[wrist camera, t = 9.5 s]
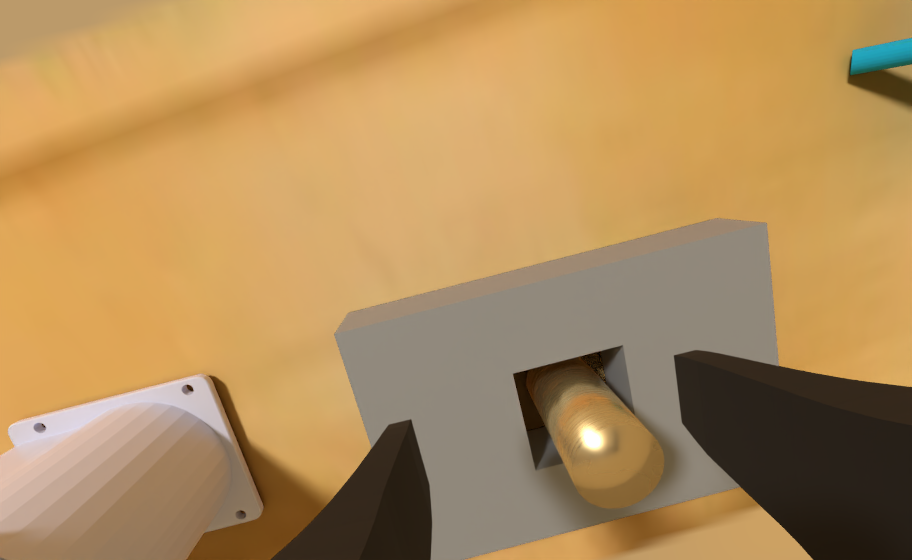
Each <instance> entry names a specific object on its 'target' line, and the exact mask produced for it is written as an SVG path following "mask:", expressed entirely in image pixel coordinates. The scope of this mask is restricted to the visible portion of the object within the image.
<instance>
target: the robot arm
mask: <svg viewBox="0 0 912 560" xmlns="http://www.w3.org/2000/svg"><path fill="white" fill-rule="evenodd" d="M674 362H675V371H676V379H677V387H678V395H679V403H680V412H681V420H682V424H683V425H684V426H685V428H686V429H687V430H688V431H689V433H690V434H691V435H692V437H693V438H694V439H695V440H696V442H697V443H698V444H699V445H700V446H701V448H702V449H703V450H704V451H705V452H706V454H707V455H708V456H709V457H710V458H711V459H712V460H713V461H714V462H715V463H716V464H717V465H718V466H719V467H720V468H721V469H723V470H724V471H725V472H726V473H727V474H728V475H729V476H730V477H731V478H732V479H733V480H734V481H735V482H736V483H737V484H738V485H739V486H740V487H741V488H742V489H743V490H744V491H745V492H747V493H748V494H749V495H750V496H751V497H752V498H753V499H754V500H755V501H756V502H757V503H758V504H759V505H760V506H761V507H762V508H763V509H764V510H765V511H766V512H768V513H769V514H770V515H771V516H772V517H773V518H774V519H775V520H776V521H777V522H778V523H779V524H780V525H781V526H782V527H783V528H784V529H785V530H786V531H787V532H788V533H789V534H790V535H791V536H792V537H793V538H794V539H795V540H796V541H797V542H798V543H799V544H800V545H801V546H802V547H803V549H804V550H805V551H806V552H807V553H808V554H809V555H810V556H811V558H812V559H813V560H912V387H905V386H897V385H889V384H881V383H873V382H865V381H858V380H851V379H845V378H839V377H833V376H827V375H822V374H816V373H811V372H805V371H800V370H795V369H790V368H785V367H781V366H776V365H771V364H767V363H762V362H758V361H753V360H748V359H744V358H739V357H735V356H730V355H725V354H720V353H715V352H709V351H701V350H694V351H689V352H685V353H681V354H677V355H674ZM187 385H190V386H192V387H193V390H194V391H190V390H188V388H187ZM42 424H44V425H45V427H46V428H45V427H43V425H42ZM8 434H9V437H10V439H11V441H12V442H13V444H14V446H15V447H14V448H12V449H10V450H9V451H7V452H5V453H4V454H2V455H1V456H0V560H186V559H187V558H188V556H189V555H190V553H191V552H192V550H193V549H194V547H195V546H196V544H197V543H198V541H199V540H200V538H201V537H202V535H203V534H204V533H206V532H210V531H214V530H218V529H221V528H225V527H229V526H233V525H237V524H241V523H244V522H248V521H252V520H255V519H257V518H259V517H260V515H261V513H262V511H263V503H262V501H261V499H260V496H259V494H258V491H257V489H256V486H255V484H254V481H253V479H252V477H251V474H250V472H249V469H248V467H247V464H246V462H245V459H244V457H243V455H242V452H241V450H240V447H239V445H238V442H237V440H236V437H235V435H234V433H233V430H232V428H231V425H230V423H229V420H228V418H227V415H226V413H225V411H224V408H223V406H222V403H221V401H220V398H219V396H218V393H217V391H216V388H215V386H214V384H213V381H212V380H211V378H210V377H209V376H207V375H204V374H197V375H193V376H189V377H186V378H182V379H178V380H174V381H170V382H166V383H162V384H158V385H154V386H151V387H147V388H143V389H139V390H135V391H131V392H127V393H123V394H120V395H116V396H112V397H108V398H104V399H100V400H96V401H92V402H88V403H85V404H81V405H77V406H73V407H69V408H65V409H61V410H57V411H53V412H50V413H46V414H42V415H38V416H34V417H30V418H26V419H22V420H20V421H17V422H16V423H14V424H12V425H11V426H10V427H9V428H8ZM239 510H242V511H244V512H245V513H241V512H240V511H239ZM431 543H432V510H431V497H430V485H429V481H428V478H427V474H426V470H425V467H424V463H423V460H422V456H421V453H420V449H419V445H418V442H417V438H416V435H415V431H414V427H413V424H412V420H411V419H410V420H406V421H401V422H397V423H393V424H389V425H388V426H387V428H386V429H385V430H384V432H383V433H382V434H381V436H380V437H379V439H378V440H377V442H376V443H375V444H374V446H373V447H372V449H371V450H370V452H369V453H368V454H367V456H366V457H365V458H364V460H363V461H362V463H361V464H360V465H359V467H358V468H357V469H356V471H355V472H354V473H353V474H352V476H351V477H350V478H349V479H348V481H347V482H346V483H345V484H344V485H343V487H342V488H341V489H340V490H339V492H338V493H337V494H336V495H335V496H334V498H333V499H332V500H331V501H330V502H329V503H328V505H327V506H326V507H325V508H324V509H323V510H322V511H321V512H320V513H319V514H318V516H317V517H316V518H315V519H314V520H313V521H312V522H311V523H310V524H309V525H308V526H307V527H306V528H305V529H304V530H303V531H302V532H301V533H300V534H299V535H298V536H297V537H295V538H294V539H293V540H292V541H291V542H290V543H289V544H288V545H287V546H285V547H284V548H283V549H282V550H281V551H280V552H279V553H277V554H276V555H275V556H274V557H273V558H272V559H271V560H431Z"/></svg>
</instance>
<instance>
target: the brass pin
mask: <svg viewBox="0 0 912 560" xmlns="http://www.w3.org/2000/svg"><path fill="white" fill-rule="evenodd" d="M526 386H527V389H528V392H529V394H530V396H531V398H532V400H533V402H534V404H535V406H536V408H537V410H538V412H539V414H540V416H541V418H542V420H543V422H544V424H545V426H546V428H547V430H548V432H549V434H550V436H551V438H552V440H553V442H554V445H555V447H556V449H557V451H558V453H559V455H560V457H561V459H562V461H563V463H564V465H565V467H566V469H567V471H568V473H569V475H570V477H571V479H572V481H573V483H574V485H575V487H576V489H577V491H578V492H579V494H580V495H581V496H582V497H583V498H584V499H585V500H586V501H588V502H589V503H591V504H593V505H595V506H598V507H602V508H607V509H617V508H624V507H628V506H631V505H633V504H635V503H638V502H639V501H641V500H643V499H644V498H645V497H647V496H648V495H649V494H650V493H651V492H652V491H653V490H654V488H655V487H656V486H657V484H658V483H659V481H660V479H661V476H662V473H663V469H664V454H663V450H662V448H661V446H660V444H659V442H658V441H657V440H656V438H655V437H654V436H653V435H652V434H651V433H650V432H649V431H648V430H647V429H646V427H645V426H644V425H643V424H642V423H641V422H640V421H639V420H638V419H637V418H636V416H635V415H634V414H633V413H632V412H631V411H630V410H629V409H628V408H627V407H626V406H625V404H624V403H623V402H622V401H621V400H620V399H619V398H618V397H617V396H616V395H615V394H614V392H613V391H612V390H611V389H610V388H609V387H608V386H607V385H606V384H605V383H604V382H603V380H602V379H601V378H600V377H599V376H598V375H597V374H596V373H595V372H594V371H593V370H592V368H591V367H590V366H589V365H588V364H587V363H586V362H585V361H584V360H583V359H582V358H581V357H580V356H579V357H575V358H571V359H567V360H563V361H560V362H556V363H552V364H548V365H544V366H540V367H536V368H533V369H529V370H528V371H527V375H526Z"/></svg>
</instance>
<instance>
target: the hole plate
mask: <svg viewBox="0 0 912 560" xmlns="http://www.w3.org/2000/svg"><path fill="white" fill-rule="evenodd" d="M334 335H335V338H336V341H337V344H338V347H339V350H340V353H341V356H342V359H343V362H344V366H345V369H346V372H347V375H348V378H349V381H350V384H351V387H352V390H353V393H354V396H355V399H356V402H357V405H358V408H359V411H360V414H361V417H362V420H363V423H364V426H365V429H366V432H367V435H368V438H369V441H370V444H371V447H373V446H374V444H375V443H376V442H377V440H378V439H379V437H380V436H381V434H382V433H383V432H384V430H385V429H386V428H387V426H388V425H389V424H393V423H397V422H401V421H406V420H410V419H411V420H412V424H413V427H414V431H415V435H416V438H417V442H418V445H419V449H420V453H421V456H422V460H423V463H424V467H425V470H426V474H427V478H428V481H429V485H430V497H431V510H432V543H431V560H464V559H468V558H472V557H475V556H479V555H483V554H487V553H491V552H495V551H498V550H502V549H506V548H510V547H514V546H517V545H521V544H525V543H529V542H533V541H536V540H540V539H544V538H548V537H552V536H555V535H559V534H563V533H567V532H571V531H575V530H578V529H582V528H586V527H590V526H594V525H597V524H601V523H605V522H609V521H613V520H616V519H620V518H624V517H628V516H632V515H635V514H639V513H643V512H647V511H651V510H655V509H658V508H662V507H666V506H670V505H674V504H677V503H681V502H685V501H689V500H693V499H696V498H700V497H704V496H708V495H712V494H715V493H719V492H723V491H727V490H731V489H735V488H738V487H740V486H739V485H738V484H737V483H736V482H735V481H734V480H733V479H732V478H731V477H730V476H729V475H728V474H727V473H726V472H725V471H724V470H723V469H721V468H720V467H719V466H718V465H717V464H716V463H715V462H714V461H713V460H712V459H711V458H710V457H709V456H708V455H707V454H706V452H705V451H704V450H703V449H702V448H701V446H700V445H699V444H698V443H697V442H696V440H695V439H694V438H693V437H692V435H691V434H690V433H689V431H688V430H687V429H686V428H685V426H684V425H683V424H682V420H681V412H680V403H679V395H678V387H677V379H676V371H675V362H674V355H677V354H681V353H685V352H689V351H694V350H701V351H709V352H715V353H720V354H725V355H730V356H735V357H739V358H744V359H748V360H753V361H758V362H762V363H767V364H771V365H776V366H779V362H778V350H777V338H776V326H775V314H774V303H773V291H772V279H771V267H770V255H769V243H768V231H767V223H763V222H752V221H741V220H730V219H719V218H716V219H712V220H709V221H705V222H701V223H697V224H693V225H689V226H685V227H681V228H677V229H673V230H670V231H666V232H662V233H658V234H654V235H650V236H646V237H642V238H638V239H635V240H631V241H627V242H623V243H619V244H615V245H611V246H607V247H603V248H599V249H596V250H592V251H588V252H584V253H580V254H576V255H572V256H568V257H564V258H561V259H557V260H553V261H549V262H545V263H541V264H537V265H533V266H529V267H525V268H522V269H518V270H514V271H510V272H506V273H502V274H498V275H494V276H490V277H487V278H483V279H479V280H475V281H471V282H467V283H463V284H459V285H455V286H451V287H448V288H444V289H440V290H436V291H432V292H428V293H424V294H420V295H416V296H413V297H409V298H405V299H401V300H397V301H393V302H389V303H385V304H381V305H377V306H374V307H370V308H366V309H362V310H358V311H354V312H350V313H348V314H347V316H346V317H345V319H344V320H343V322H342V323H341V325H340V326H339V328H338V329H337V331H336V332H335V334H334ZM598 351H601V356H602V362H603V367H604V373H605V378H606V384H607V386H608V387H609V388H610V389H611V390H612V391H613V392H614V394H615V395H616V396H617V397H618V398H619V399H620V400H621V401H622V402H623V403H624V404H625V406H626V407H627V408H628V409H629V410H630V411H631V412H632V413H633V414H634V415H635V416H636V418H637V419H638V420H639V421H640V422H641V423H642V424H643V425H644V426H645V427H646V429H647V430H648V431H649V432H650V433H651V434H652V435H653V436H654V437H655V438H656V440H657V441H658V442H659V444H660V446H661V448H662V450H663V454H664V469H663V473H662V476H661V479H660V481H659V483H658V484H657V486H656V487H655V488H654V490H653V491H652V492H651V493H650V494H649V495H648V496H647V497H645V498H644V499H643V500H641V501H639V502H638V503H635V504H633V505H631V506H628V507H624V508H617V509H607V508H602V507H598V506H595V505H593V504H591V503H589V502H588V501H586V500H585V499H584V498H583V497H582V496H581V495H580V494H579V492H578V491H577V489H576V487H575V485H574V483H573V481H572V479H571V477H570V475H569V473H568V471H567V469H566V467H565V465H564V463H563V461H562V459H561V457H560V455H559V453H558V451H557V449H556V447H555V445H554V442H553V440H552V438H551V436H550V434H549V432H548V430H547V428H546V426H545V427H541V428H537V429H534V430H530V431H526V428H525V424H524V419H523V415H522V411H521V407H520V402H519V398H518V394H517V390H516V386H515V381H514V377H513V373H517V372H521V371H525V370H529V369H533V368H536V367H540V366H544V365H548V364H552V363H556V362H560V361H563V360H567V359H571V358H575V357H579V356H583V355H587V354H591V353H594V352H598Z"/></svg>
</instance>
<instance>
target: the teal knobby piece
mask: <svg viewBox="0 0 912 560" xmlns="http://www.w3.org/2000/svg"><path fill="white" fill-rule="evenodd" d="M910 64H912V38H909V39H904V40H899V41H894V42H889V43H885V44H880V45H875V46H870V47H865V48H860V49H856V50H853V53H852V62H851V71H850V75H854V74H860V73H866V72H871V71H877V70H882V69H888V68H894V67H899V66H905V65H910Z"/></svg>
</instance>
